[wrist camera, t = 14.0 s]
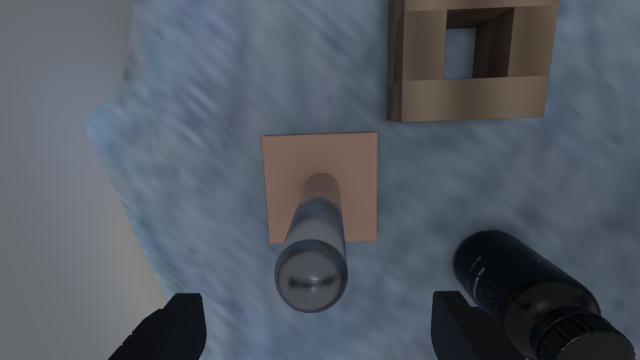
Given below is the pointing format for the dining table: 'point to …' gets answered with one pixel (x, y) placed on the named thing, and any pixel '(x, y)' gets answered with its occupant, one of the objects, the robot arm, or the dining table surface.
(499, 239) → the supplement bottle
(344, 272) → the metal pin
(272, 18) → the dining table surface
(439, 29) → the walnut block
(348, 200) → the terracotta mat
